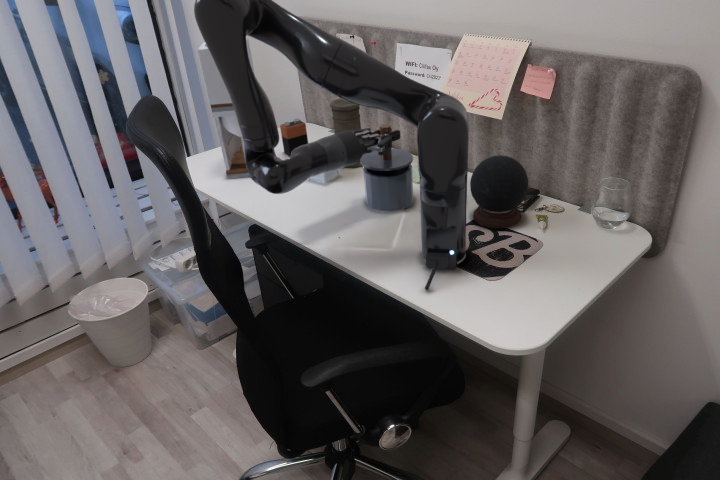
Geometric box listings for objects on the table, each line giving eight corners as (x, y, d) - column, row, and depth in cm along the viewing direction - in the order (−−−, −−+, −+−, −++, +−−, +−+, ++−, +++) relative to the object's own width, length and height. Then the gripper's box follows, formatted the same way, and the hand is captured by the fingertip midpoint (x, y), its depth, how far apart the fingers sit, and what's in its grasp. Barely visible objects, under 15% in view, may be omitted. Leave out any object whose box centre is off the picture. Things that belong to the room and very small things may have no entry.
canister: (409, 213, 135) (407, 177, 130) (362, 212, 137) (358, 176, 132) (415, 192, 145) (414, 158, 140) (371, 191, 147) (369, 157, 141)
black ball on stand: (476, 201, 139) (478, 144, 131) (529, 208, 135) (535, 149, 127) (463, 226, 129) (464, 166, 120) (520, 234, 124) (525, 172, 116)
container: (361, 169, 159) (356, 106, 149) (332, 167, 161) (324, 106, 151) (369, 157, 167) (364, 97, 157) (340, 156, 168) (334, 96, 159)
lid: (409, 174, 129) (407, 135, 124) (355, 172, 131) (352, 134, 126) (416, 153, 139) (415, 117, 134) (366, 152, 141) (364, 116, 136)
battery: (310, 151, 173) (305, 119, 167) (290, 157, 169) (285, 125, 164) (302, 147, 176) (298, 116, 170) (283, 153, 172) (278, 121, 167)
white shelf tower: (227, 178, 158) (197, 49, 139) (232, 164, 167) (204, 41, 147) (267, 175, 159) (243, 46, 140) (270, 161, 168) (248, 38, 148)
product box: (339, 176, 155) (336, 152, 151) (325, 185, 151) (322, 159, 147) (322, 172, 158) (319, 148, 154) (308, 180, 154) (304, 155, 150)
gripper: (353, 143, 117) (414, 123, 126) (316, 128, 126) (375, 110, 135) (356, 176, 121) (414, 154, 130) (320, 159, 130) (377, 140, 139)
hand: (394, 132), depth 133 cm, fingers closed on lid, 2 cm apart
